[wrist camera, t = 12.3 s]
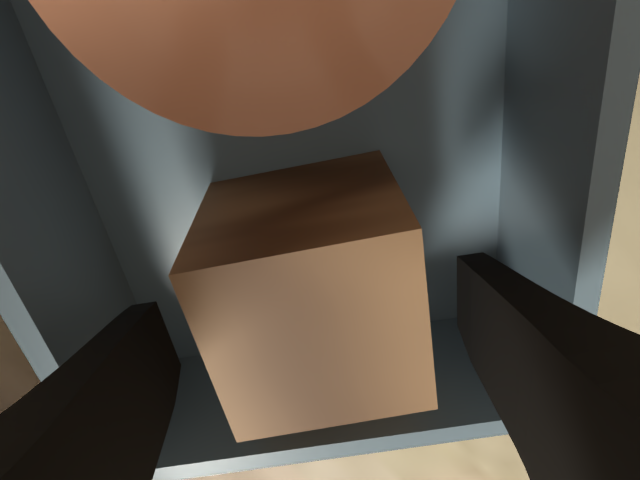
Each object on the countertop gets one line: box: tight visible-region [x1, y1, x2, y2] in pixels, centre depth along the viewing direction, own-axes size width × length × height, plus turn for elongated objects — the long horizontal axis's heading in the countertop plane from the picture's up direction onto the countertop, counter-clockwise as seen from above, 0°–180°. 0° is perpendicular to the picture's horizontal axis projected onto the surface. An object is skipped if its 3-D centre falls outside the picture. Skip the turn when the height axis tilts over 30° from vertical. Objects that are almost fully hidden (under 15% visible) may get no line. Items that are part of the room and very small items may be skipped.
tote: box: [0, 0, 640, 480], centre depth 11 cm, size 17×13×5 cm
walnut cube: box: [168, 150, 438, 443], centre depth 12 cm, size 5×5×5 cm
